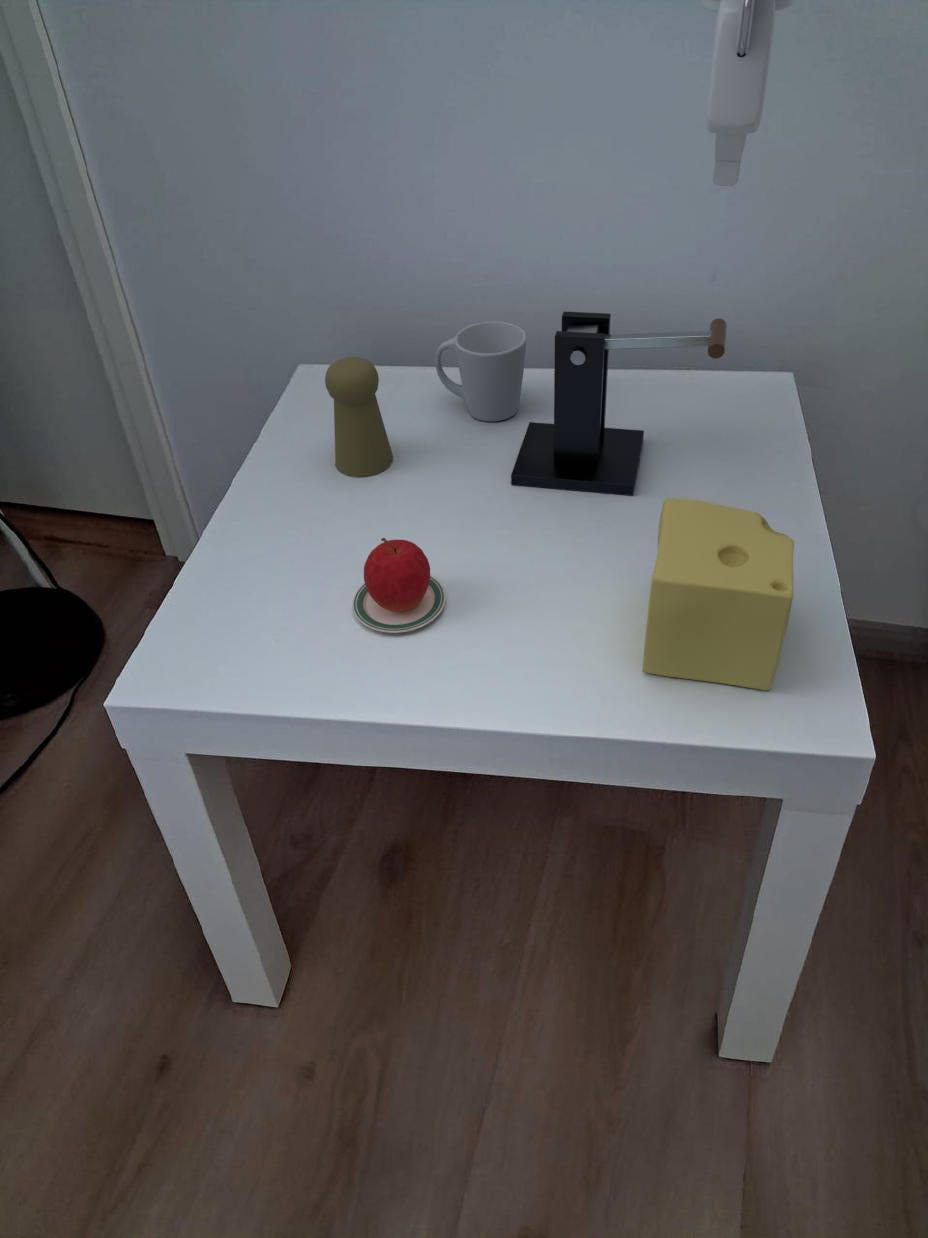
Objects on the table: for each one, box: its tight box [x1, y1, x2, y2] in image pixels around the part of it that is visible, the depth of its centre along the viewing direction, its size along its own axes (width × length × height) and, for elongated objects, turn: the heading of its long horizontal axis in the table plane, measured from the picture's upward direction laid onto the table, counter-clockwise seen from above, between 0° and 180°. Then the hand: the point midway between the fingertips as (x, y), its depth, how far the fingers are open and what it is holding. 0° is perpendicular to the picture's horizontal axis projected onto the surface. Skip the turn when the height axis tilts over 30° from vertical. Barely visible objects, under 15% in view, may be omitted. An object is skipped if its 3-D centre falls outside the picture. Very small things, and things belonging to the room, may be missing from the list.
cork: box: [324, 356, 394, 478], centre depth 94 cm, size 6×6×11 cm
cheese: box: [642, 497, 795, 691], centre depth 72 cm, size 10×11×10 cm
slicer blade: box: [567, 317, 728, 360], centre depth 85 cm, size 14×5×2 cm, turn 77°
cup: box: [434, 321, 528, 423], centre depth 101 cm, size 8×10×8 cm
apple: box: [352, 537, 447, 634], centre depth 78 cm, size 8×8×6 cm
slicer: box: [510, 310, 645, 497], centre depth 90 cm, size 12×10×15 cm
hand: (727, 161), depth 73 cm, fingers open, 8 cm apart
